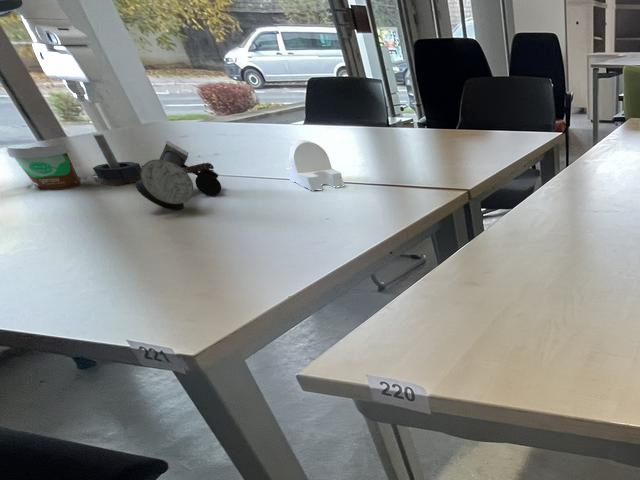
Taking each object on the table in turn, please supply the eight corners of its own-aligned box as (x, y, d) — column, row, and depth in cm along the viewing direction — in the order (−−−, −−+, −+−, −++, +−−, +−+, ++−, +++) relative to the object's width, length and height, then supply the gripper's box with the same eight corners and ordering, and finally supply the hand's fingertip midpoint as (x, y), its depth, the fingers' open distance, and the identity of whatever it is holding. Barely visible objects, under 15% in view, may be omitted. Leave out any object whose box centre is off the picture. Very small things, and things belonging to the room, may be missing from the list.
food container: (29, 193, 135) (2, 150, 128) (30, 188, 138) (3, 146, 132) (88, 187, 141) (64, 146, 135) (87, 182, 145) (64, 142, 138)
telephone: (207, 237, 128) (209, 204, 147) (228, 193, 125) (227, 165, 144) (128, 199, 117) (141, 169, 136) (149, 149, 114) (159, 126, 133)
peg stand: (114, 185, 143) (88, 138, 135) (95, 182, 145) (69, 135, 138) (148, 179, 149) (125, 134, 141) (129, 175, 152) (106, 131, 144)
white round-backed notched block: (312, 191, 142) (298, 147, 135) (289, 179, 152) (274, 138, 145) (345, 186, 148) (334, 144, 141) (321, 175, 157) (309, 135, 150)
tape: (112, 181, 141) (106, 171, 139) (91, 176, 144) (86, 166, 142) (150, 174, 148) (145, 164, 146) (129, 170, 151) (125, 160, 149)
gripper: (14, 32, 125) (51, 99, 134) (61, 36, 119) (96, 106, 128) (44, 32, 130) (78, 98, 139) (91, 36, 124) (123, 104, 132)
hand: (87, 102), depth 133 cm, fingers open, 4 cm apart
